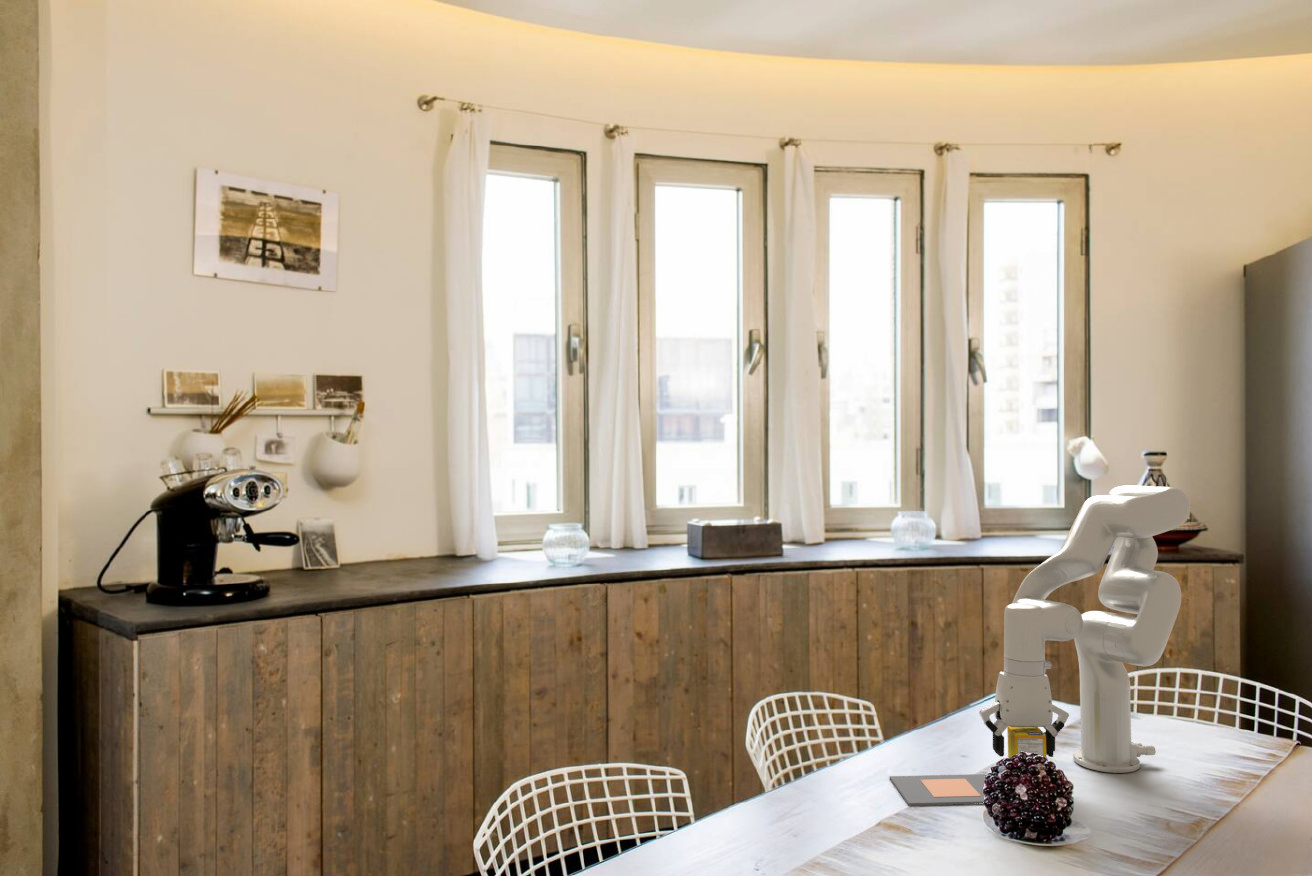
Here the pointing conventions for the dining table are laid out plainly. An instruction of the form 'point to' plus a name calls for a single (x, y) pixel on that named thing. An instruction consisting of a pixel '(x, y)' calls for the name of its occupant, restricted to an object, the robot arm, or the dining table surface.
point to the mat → (940, 789)
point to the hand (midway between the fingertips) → (1023, 754)
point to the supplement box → (1026, 740)
